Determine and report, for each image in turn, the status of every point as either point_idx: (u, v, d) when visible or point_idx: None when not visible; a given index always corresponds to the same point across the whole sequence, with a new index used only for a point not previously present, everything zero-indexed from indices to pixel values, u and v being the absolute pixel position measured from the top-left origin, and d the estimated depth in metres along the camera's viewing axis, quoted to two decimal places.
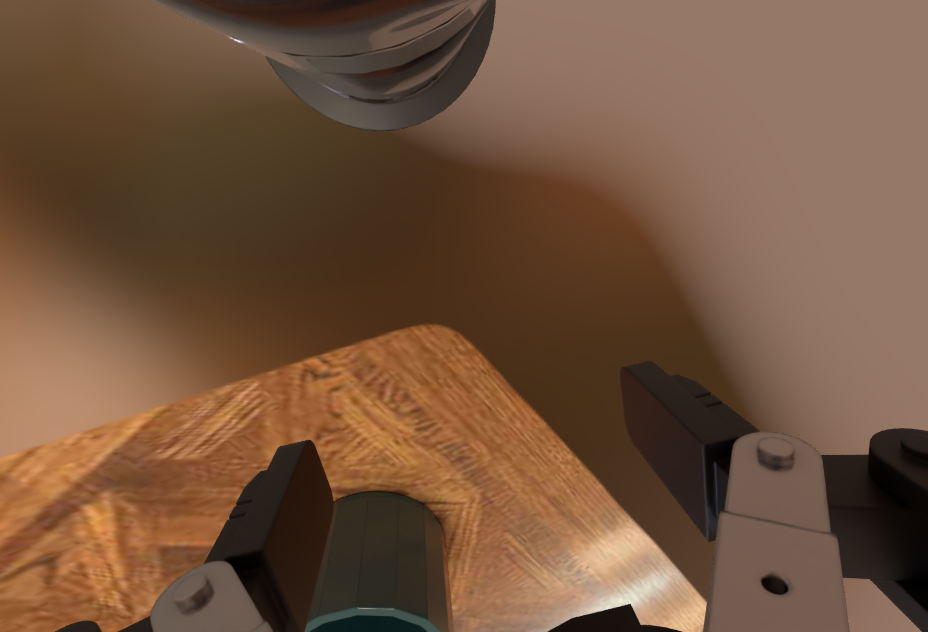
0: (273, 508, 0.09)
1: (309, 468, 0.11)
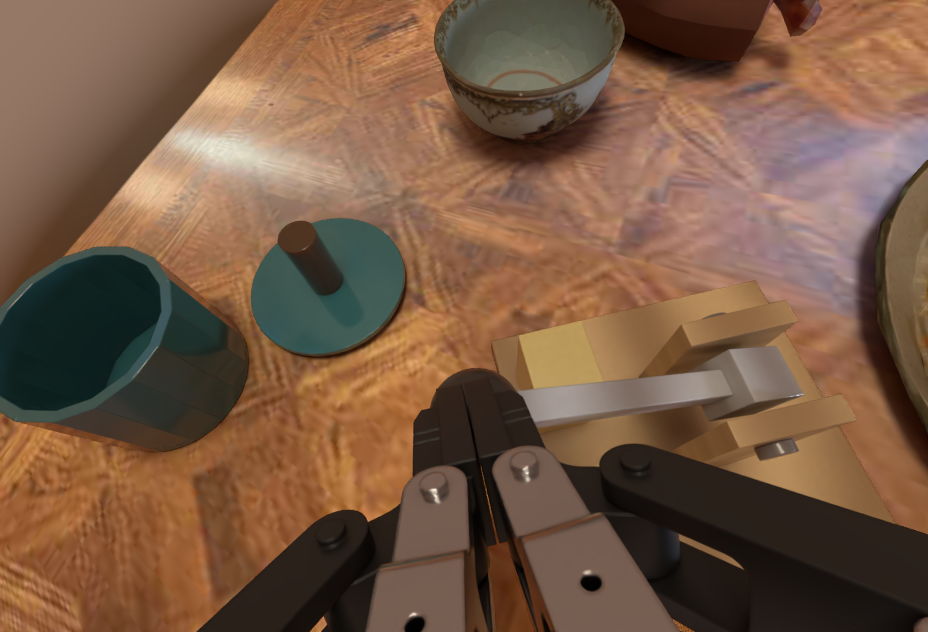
0: (464, 431, 0.10)
1: (466, 406, 0.12)
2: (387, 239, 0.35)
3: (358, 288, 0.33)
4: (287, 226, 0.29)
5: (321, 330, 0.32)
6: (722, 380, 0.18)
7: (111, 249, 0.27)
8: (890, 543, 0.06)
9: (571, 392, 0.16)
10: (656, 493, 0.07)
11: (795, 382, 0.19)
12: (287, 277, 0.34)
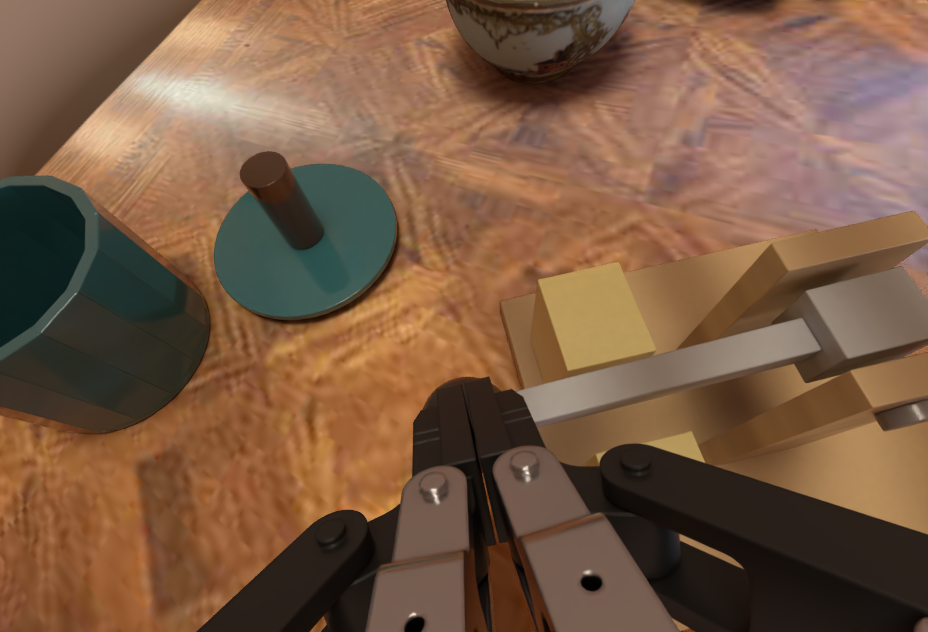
0: (464, 431, 0.10)
1: (466, 406, 0.12)
2: (376, 186, 0.30)
3: (341, 241, 0.28)
4: (252, 157, 0.24)
5: (296, 289, 0.27)
6: (803, 332, 0.14)
7: (29, 179, 0.22)
8: (891, 543, 0.06)
9: (569, 385, 0.14)
10: (656, 492, 0.07)
11: None
12: (258, 229, 0.29)
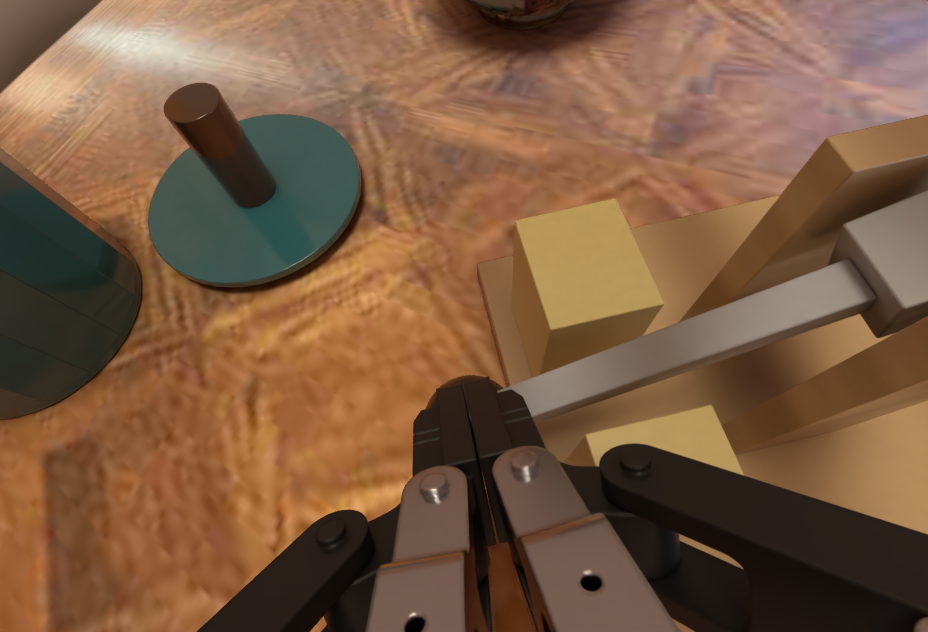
0: (464, 431, 0.10)
1: (466, 406, 0.12)
2: (339, 138, 0.26)
3: (295, 198, 0.24)
4: (180, 89, 0.20)
5: (240, 252, 0.23)
6: (849, 278, 0.11)
7: None
8: (891, 543, 0.06)
9: (561, 376, 0.13)
10: (656, 493, 0.07)
11: None
12: (200, 186, 0.25)
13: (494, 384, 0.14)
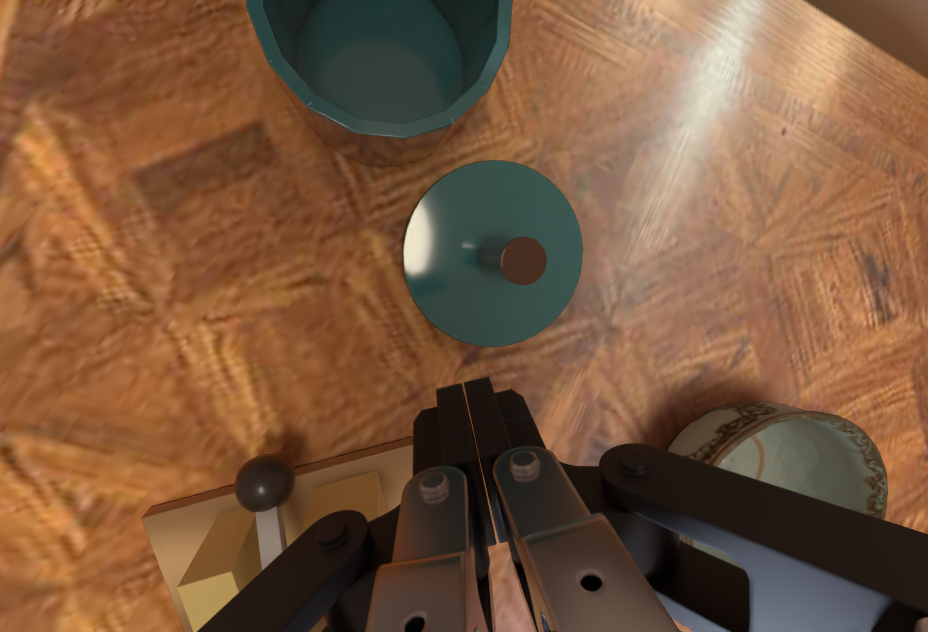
0: (464, 431, 0.10)
1: (466, 406, 0.12)
2: (546, 323, 0.30)
3: (483, 295, 0.29)
4: (539, 247, 0.23)
5: (431, 258, 0.28)
6: None
7: (505, 19, 0.19)
8: (891, 543, 0.06)
9: (276, 549, 0.24)
10: (656, 493, 0.07)
11: None
12: (504, 205, 0.28)
13: (282, 502, 0.25)
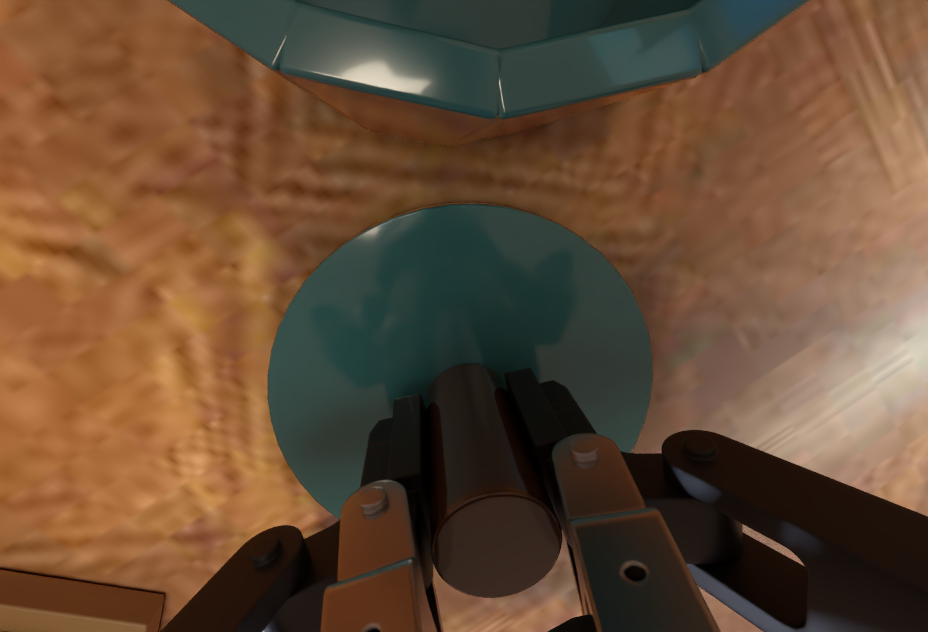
0: (413, 443, 0.10)
1: (424, 416, 0.12)
2: None
3: None
4: (553, 535, 0.08)
5: (342, 345, 0.13)
6: None
7: None
8: None
9: None
10: (717, 479, 0.07)
11: None
12: (535, 321, 0.13)
13: None
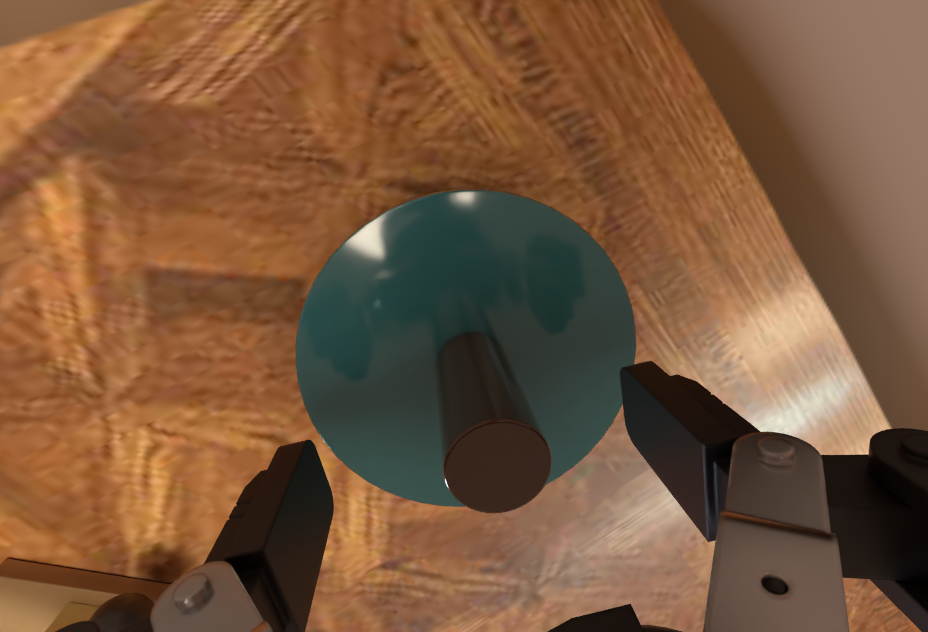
0: (273, 508, 0.09)
1: (309, 467, 0.11)
2: None
3: (416, 414, 0.16)
4: (544, 457, 0.10)
5: (361, 314, 0.14)
6: None
7: None
8: None
9: None
10: None
11: None
12: (531, 294, 0.15)
13: None
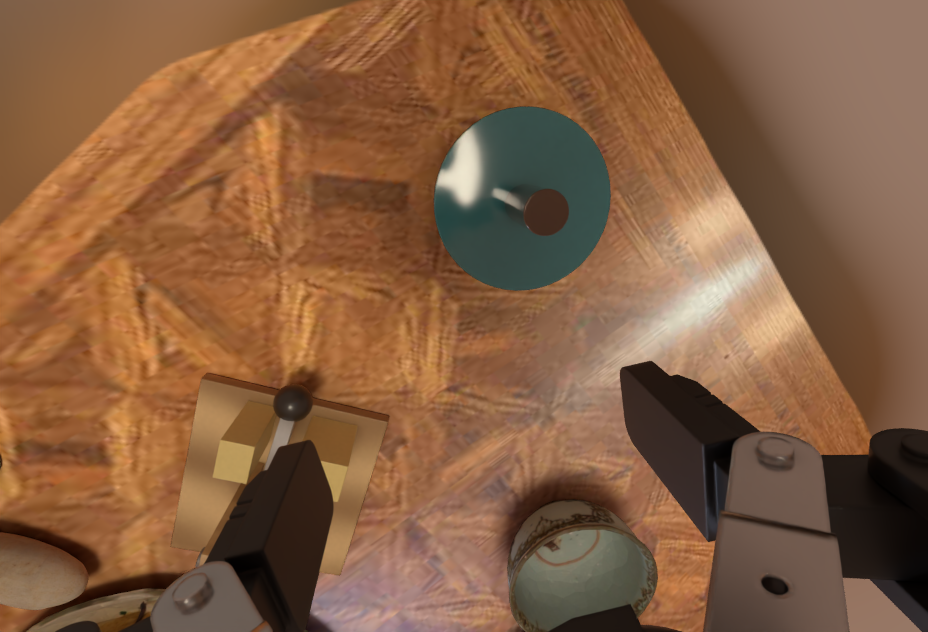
0: (273, 508, 0.09)
1: (309, 467, 0.11)
2: (532, 286, 0.31)
3: (494, 231, 0.30)
4: (566, 208, 0.24)
5: (469, 172, 0.28)
6: None
7: None
8: None
9: None
10: None
11: None
12: (555, 163, 0.29)
13: (298, 420, 0.37)
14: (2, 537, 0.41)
